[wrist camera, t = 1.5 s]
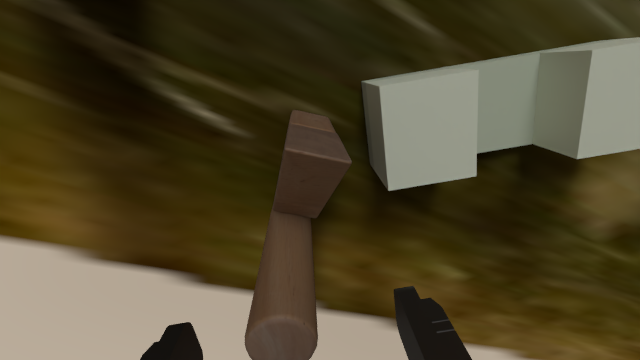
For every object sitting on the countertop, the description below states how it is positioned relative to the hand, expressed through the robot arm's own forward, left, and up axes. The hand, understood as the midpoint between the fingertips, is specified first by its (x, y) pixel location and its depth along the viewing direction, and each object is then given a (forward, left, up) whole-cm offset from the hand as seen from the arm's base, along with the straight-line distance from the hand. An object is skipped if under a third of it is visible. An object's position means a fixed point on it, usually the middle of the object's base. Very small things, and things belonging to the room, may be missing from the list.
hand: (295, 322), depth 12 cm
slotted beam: (-3, +18, -20) cm, 27 cm away
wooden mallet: (0, 0, -20) cm, 20 cm away
